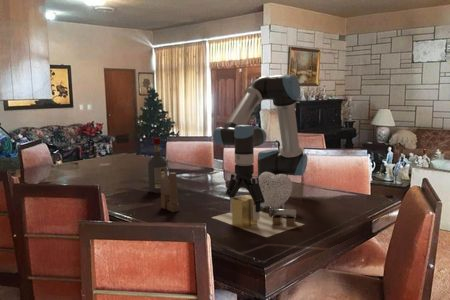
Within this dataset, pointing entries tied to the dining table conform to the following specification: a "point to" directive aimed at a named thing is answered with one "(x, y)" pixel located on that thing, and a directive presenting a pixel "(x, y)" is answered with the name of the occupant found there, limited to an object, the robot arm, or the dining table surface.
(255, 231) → the board
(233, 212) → the yellow tall block
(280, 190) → the decorative heart
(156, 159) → the liquor
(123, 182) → the dining table surface
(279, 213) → the grey brown bridge piece
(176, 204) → the wooden block
